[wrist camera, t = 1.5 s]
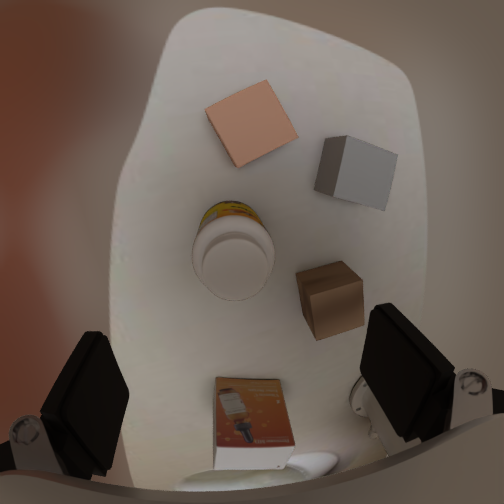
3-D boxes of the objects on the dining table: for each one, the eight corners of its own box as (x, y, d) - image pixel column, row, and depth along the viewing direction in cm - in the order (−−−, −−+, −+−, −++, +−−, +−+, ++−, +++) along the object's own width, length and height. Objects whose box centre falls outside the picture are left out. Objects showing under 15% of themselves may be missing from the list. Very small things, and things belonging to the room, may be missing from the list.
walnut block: (345, 301, 30) (364, 324, 26) (302, 314, 30) (316, 340, 25) (341, 260, 29) (362, 279, 24) (295, 273, 28) (309, 295, 24)
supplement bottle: (272, 228, 27) (301, 270, 17) (230, 269, 28) (236, 329, 18) (230, 186, 25) (235, 204, 15) (187, 229, 26) (168, 273, 16)
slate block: (359, 201, 27) (384, 211, 22) (313, 189, 26) (333, 196, 21) (370, 153, 25) (398, 154, 21) (325, 138, 24) (347, 135, 20)
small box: (280, 378, 33) (298, 445, 23) (271, 406, 34) (285, 469, 25) (214, 375, 32) (215, 447, 22) (211, 404, 33) (212, 471, 23)
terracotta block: (284, 140, 24) (298, 137, 20) (234, 166, 25) (237, 168, 20) (258, 93, 23) (266, 79, 18) (208, 118, 23) (204, 109, 18)
